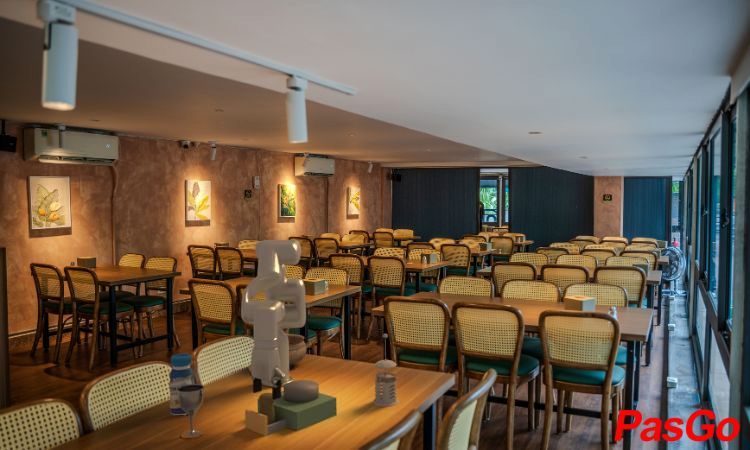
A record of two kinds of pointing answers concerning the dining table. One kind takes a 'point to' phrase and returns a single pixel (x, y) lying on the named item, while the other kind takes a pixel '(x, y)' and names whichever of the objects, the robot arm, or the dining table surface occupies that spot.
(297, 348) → the cooking pot
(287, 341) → the robot arm
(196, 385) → the wine glass
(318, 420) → the green box with dome
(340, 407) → the dining table surface
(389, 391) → the french press
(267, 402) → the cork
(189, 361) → the beverage bottle
